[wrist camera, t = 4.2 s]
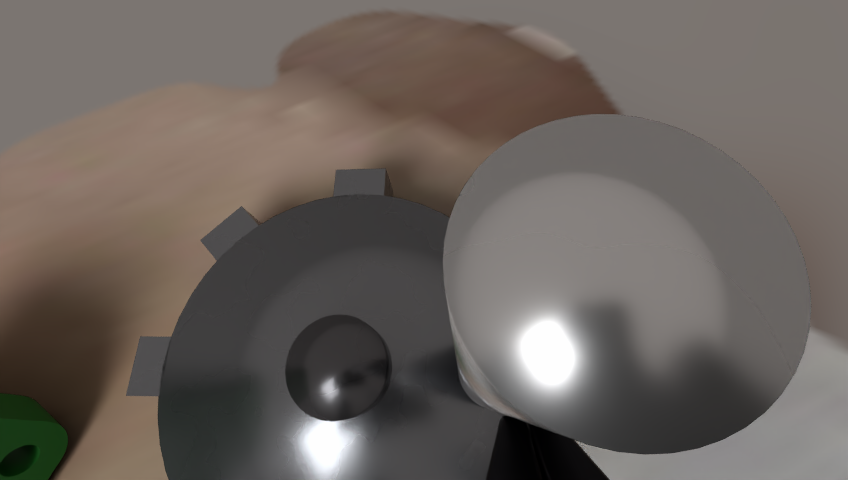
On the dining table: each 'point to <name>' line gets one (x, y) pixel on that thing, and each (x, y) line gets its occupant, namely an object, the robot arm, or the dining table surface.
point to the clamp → (28, 439)
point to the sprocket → (487, 315)
